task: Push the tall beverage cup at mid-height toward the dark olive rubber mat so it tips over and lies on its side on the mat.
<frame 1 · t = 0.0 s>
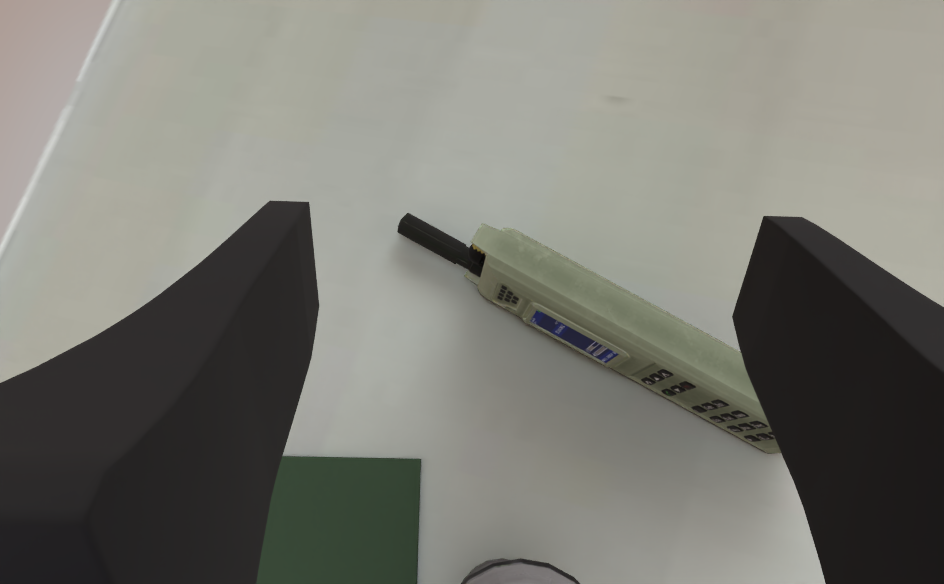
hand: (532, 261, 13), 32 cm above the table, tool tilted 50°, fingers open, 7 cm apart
handheld radio: (587, 330, 45), on the table
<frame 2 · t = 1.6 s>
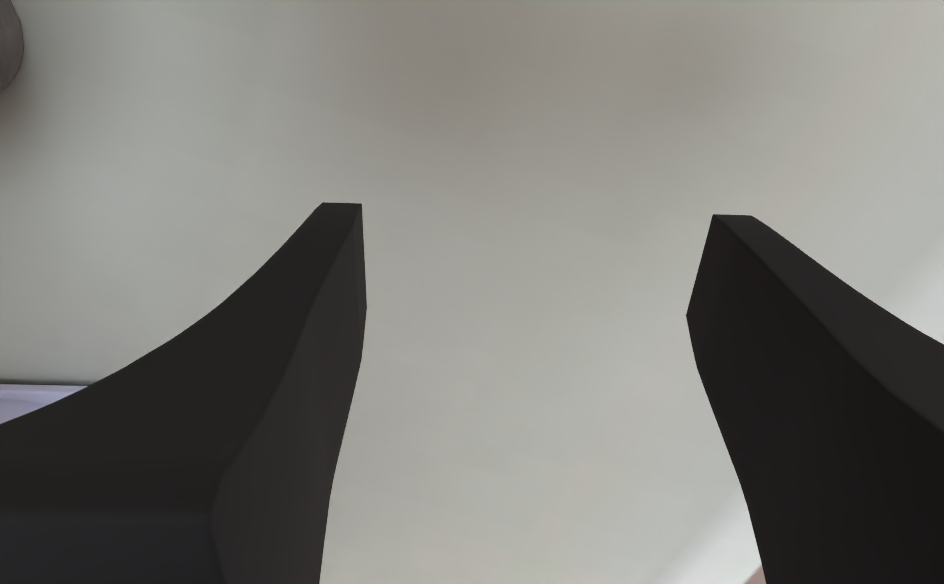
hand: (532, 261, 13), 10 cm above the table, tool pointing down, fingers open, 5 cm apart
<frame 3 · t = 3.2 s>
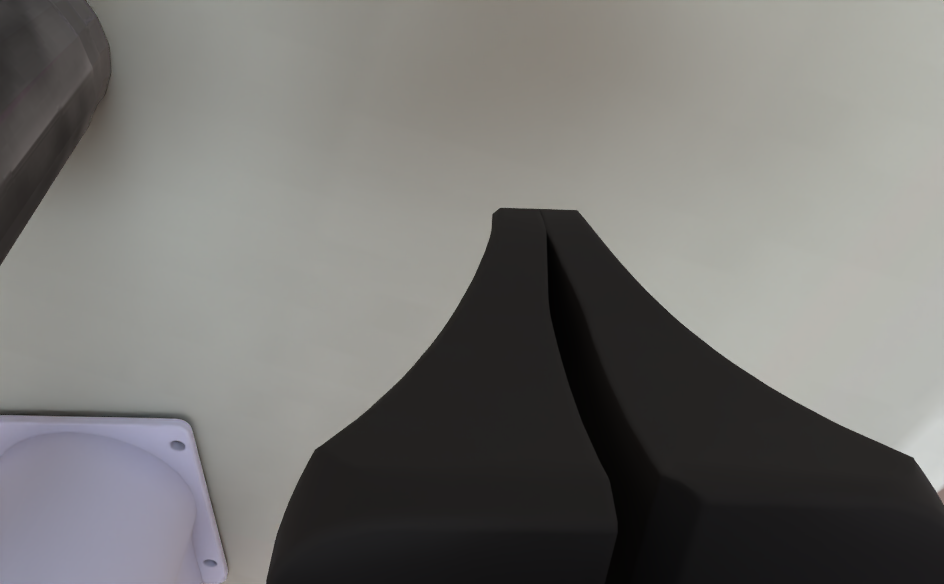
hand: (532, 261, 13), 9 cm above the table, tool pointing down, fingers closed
beverage cup: (20, 39, 19), on the table
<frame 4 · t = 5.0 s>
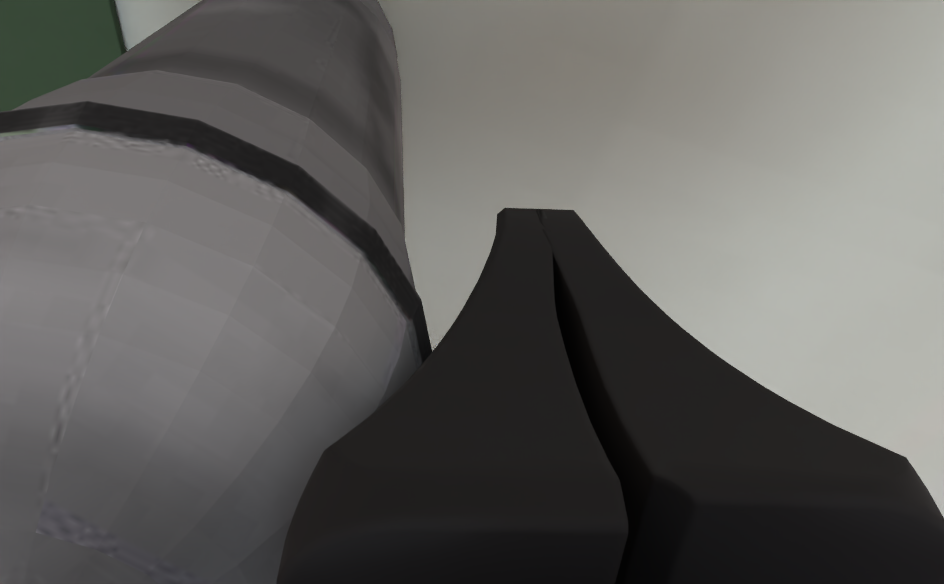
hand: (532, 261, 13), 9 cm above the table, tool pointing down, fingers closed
beverage cup: (308, 51, 20), on the table, touching gripper
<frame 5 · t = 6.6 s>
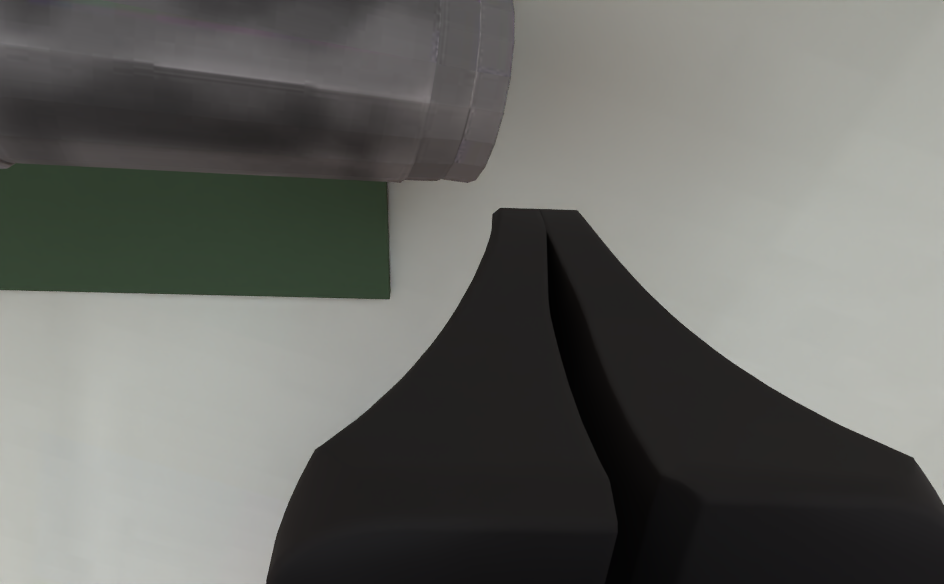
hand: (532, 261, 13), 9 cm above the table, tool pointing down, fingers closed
mat: (18, 43, 19), on the table
beverage cup: (490, 85, 18), point 2 cm above the table, touching mat
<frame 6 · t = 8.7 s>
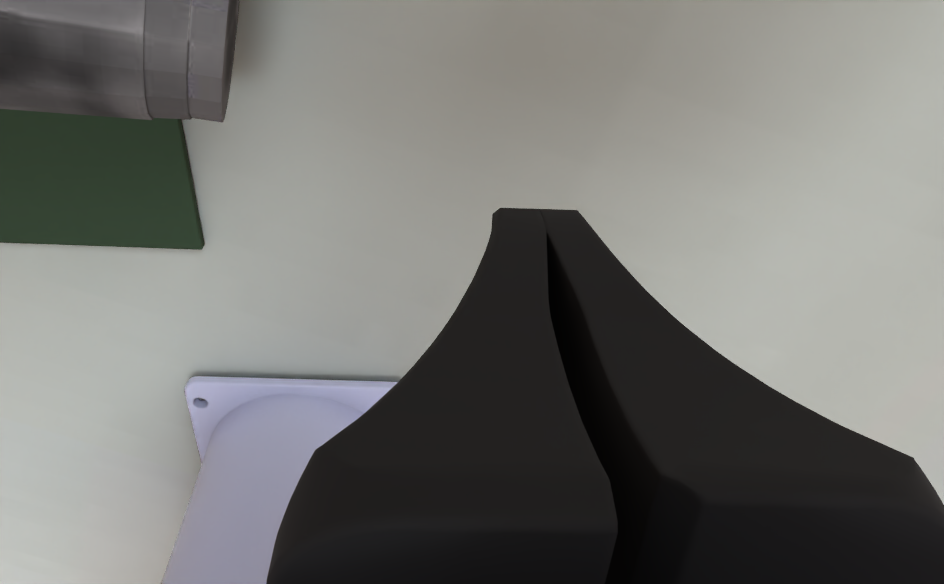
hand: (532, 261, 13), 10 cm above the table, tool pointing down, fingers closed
beverage cup: (240, 27, 18), point 2 cm above the table, touching mat
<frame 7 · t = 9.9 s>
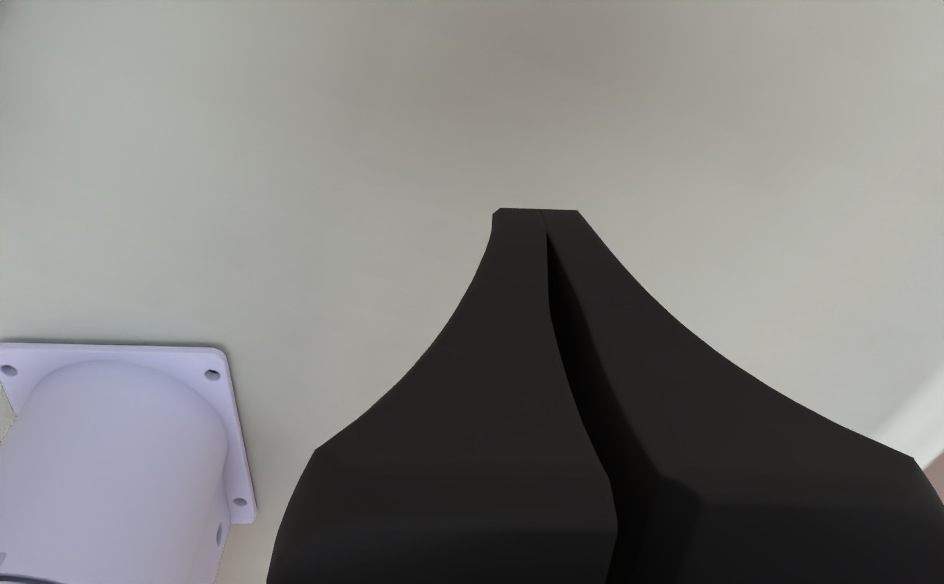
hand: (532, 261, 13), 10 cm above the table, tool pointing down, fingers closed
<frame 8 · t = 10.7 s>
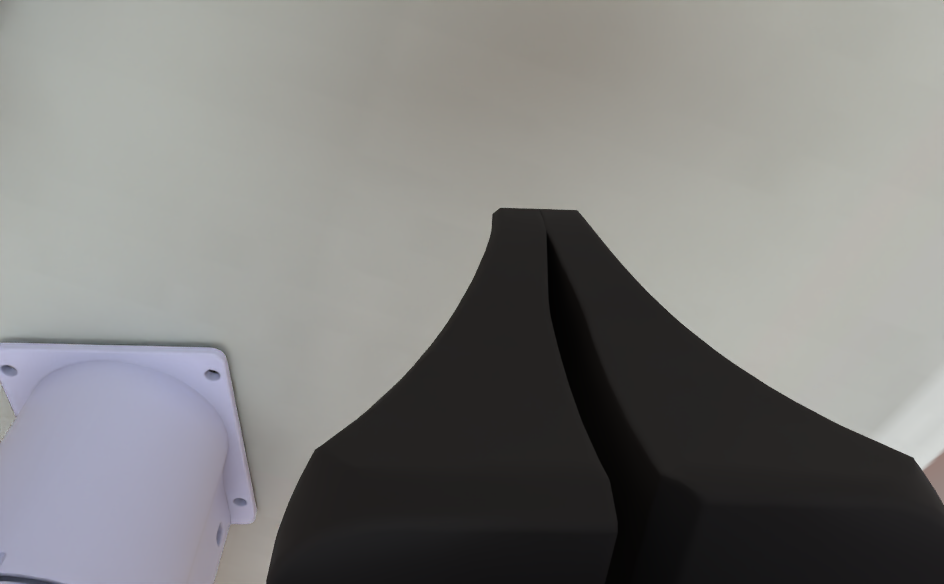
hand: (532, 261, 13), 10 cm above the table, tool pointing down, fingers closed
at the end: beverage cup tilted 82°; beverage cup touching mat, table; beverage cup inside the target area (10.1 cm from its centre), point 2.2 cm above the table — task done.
